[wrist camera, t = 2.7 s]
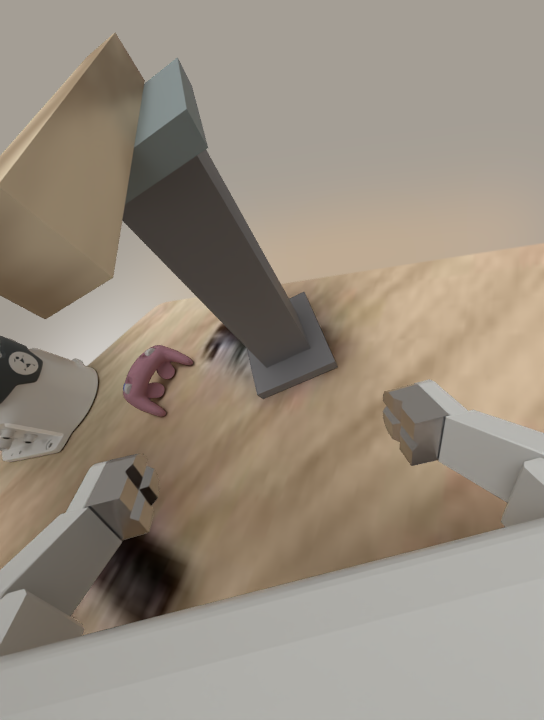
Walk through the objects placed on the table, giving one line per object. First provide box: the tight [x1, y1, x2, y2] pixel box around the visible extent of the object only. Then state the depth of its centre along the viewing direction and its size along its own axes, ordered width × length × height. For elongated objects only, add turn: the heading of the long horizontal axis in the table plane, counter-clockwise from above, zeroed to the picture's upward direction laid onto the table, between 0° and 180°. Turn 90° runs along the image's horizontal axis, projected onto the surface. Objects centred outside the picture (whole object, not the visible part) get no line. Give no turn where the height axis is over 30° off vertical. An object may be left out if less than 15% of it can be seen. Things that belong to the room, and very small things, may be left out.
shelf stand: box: [122, 58, 337, 399], centre depth 26 cm, size 10×12×26 cm
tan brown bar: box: [0, 33, 145, 319], centre depth 12 cm, size 2×22×2 cm, turn 15°
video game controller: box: [123, 345, 193, 416], centre depth 40 cm, size 10×5×7 cm, turn 156°
